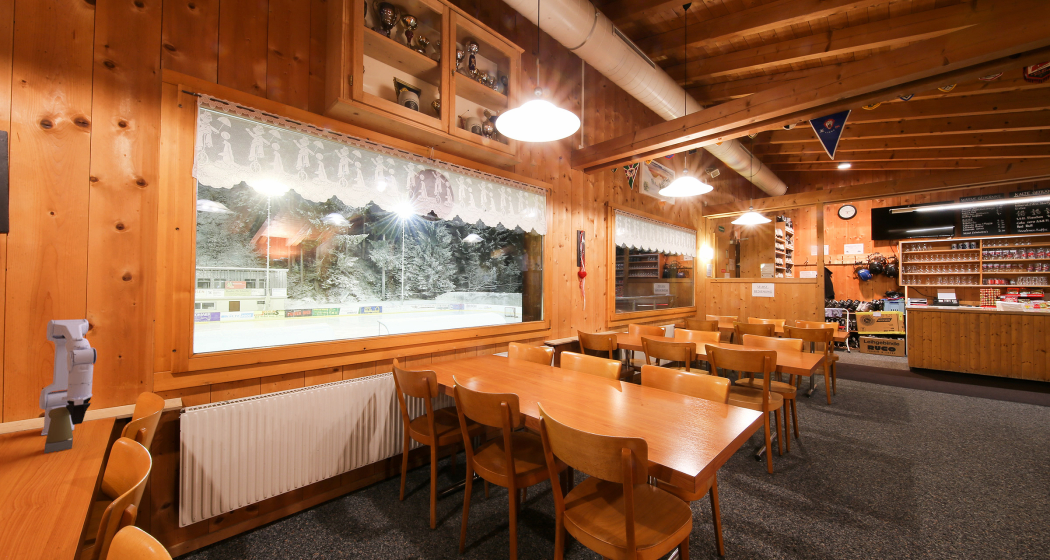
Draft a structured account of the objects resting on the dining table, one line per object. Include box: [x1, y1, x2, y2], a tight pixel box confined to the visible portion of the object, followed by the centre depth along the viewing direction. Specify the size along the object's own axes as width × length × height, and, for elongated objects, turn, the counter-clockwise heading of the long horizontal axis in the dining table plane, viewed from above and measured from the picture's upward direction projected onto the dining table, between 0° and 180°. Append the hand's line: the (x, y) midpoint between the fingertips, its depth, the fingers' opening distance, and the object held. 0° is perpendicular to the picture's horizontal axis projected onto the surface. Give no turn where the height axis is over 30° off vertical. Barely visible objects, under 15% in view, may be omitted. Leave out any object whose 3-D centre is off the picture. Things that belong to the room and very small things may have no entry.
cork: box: [45, 407, 74, 443], centre depth 132 cm, size 6×6×11 cm
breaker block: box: [43, 436, 74, 455], centre depth 131 cm, size 6×6×3 cm
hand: (77, 421), depth 134 cm, fingers open, 7 cm apart
